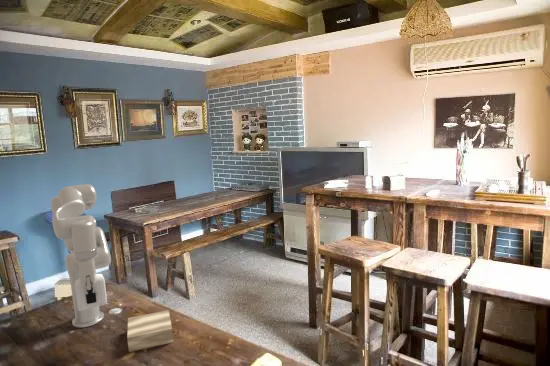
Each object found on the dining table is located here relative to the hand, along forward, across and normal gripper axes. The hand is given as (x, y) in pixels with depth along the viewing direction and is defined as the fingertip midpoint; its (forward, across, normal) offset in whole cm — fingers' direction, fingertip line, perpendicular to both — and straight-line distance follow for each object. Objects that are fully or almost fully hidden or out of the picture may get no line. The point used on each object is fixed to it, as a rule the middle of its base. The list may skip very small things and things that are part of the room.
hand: (91, 299), depth 144 cm
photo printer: (+3, 0, 0) cm, 3 cm away
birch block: (+19, +4, +19) cm, 27 cm away
